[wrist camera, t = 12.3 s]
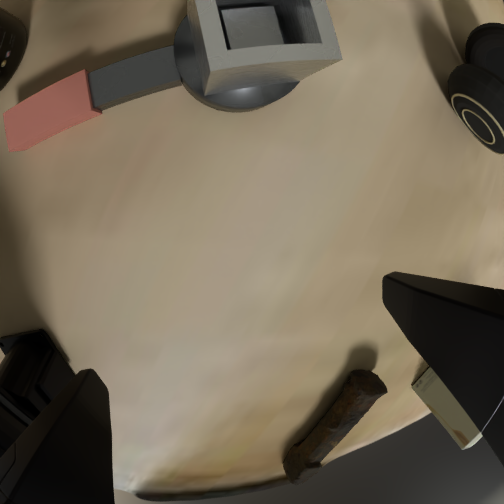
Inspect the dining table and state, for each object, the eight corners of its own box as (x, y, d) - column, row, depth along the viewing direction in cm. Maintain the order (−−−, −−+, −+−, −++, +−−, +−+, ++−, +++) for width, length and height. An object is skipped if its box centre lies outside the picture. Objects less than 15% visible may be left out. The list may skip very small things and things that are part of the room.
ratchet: (32, 182, 14) (-10, 197, 10) (15, 85, 11) (-26, 76, 7) (304, 103, 16) (342, 91, 12) (280, 6, 13) (307, -28, 9)
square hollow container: (204, 96, 13) (210, 71, 8) (187, 15, 11) (188, -33, 6) (297, 81, 13) (342, 59, 9) (278, 5, 11) (311, -37, 7)
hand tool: (348, 364, 25) (371, 397, 21) (375, 367, 26) (397, 397, 22) (264, 463, 30) (273, 491, 26) (290, 462, 31) (300, 488, 27)
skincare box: (409, 386, 30) (460, 451, 19) (432, 361, 29) (489, 422, 18) (426, 393, 32) (471, 448, 21) (446, 371, 31) (495, 424, 20)
